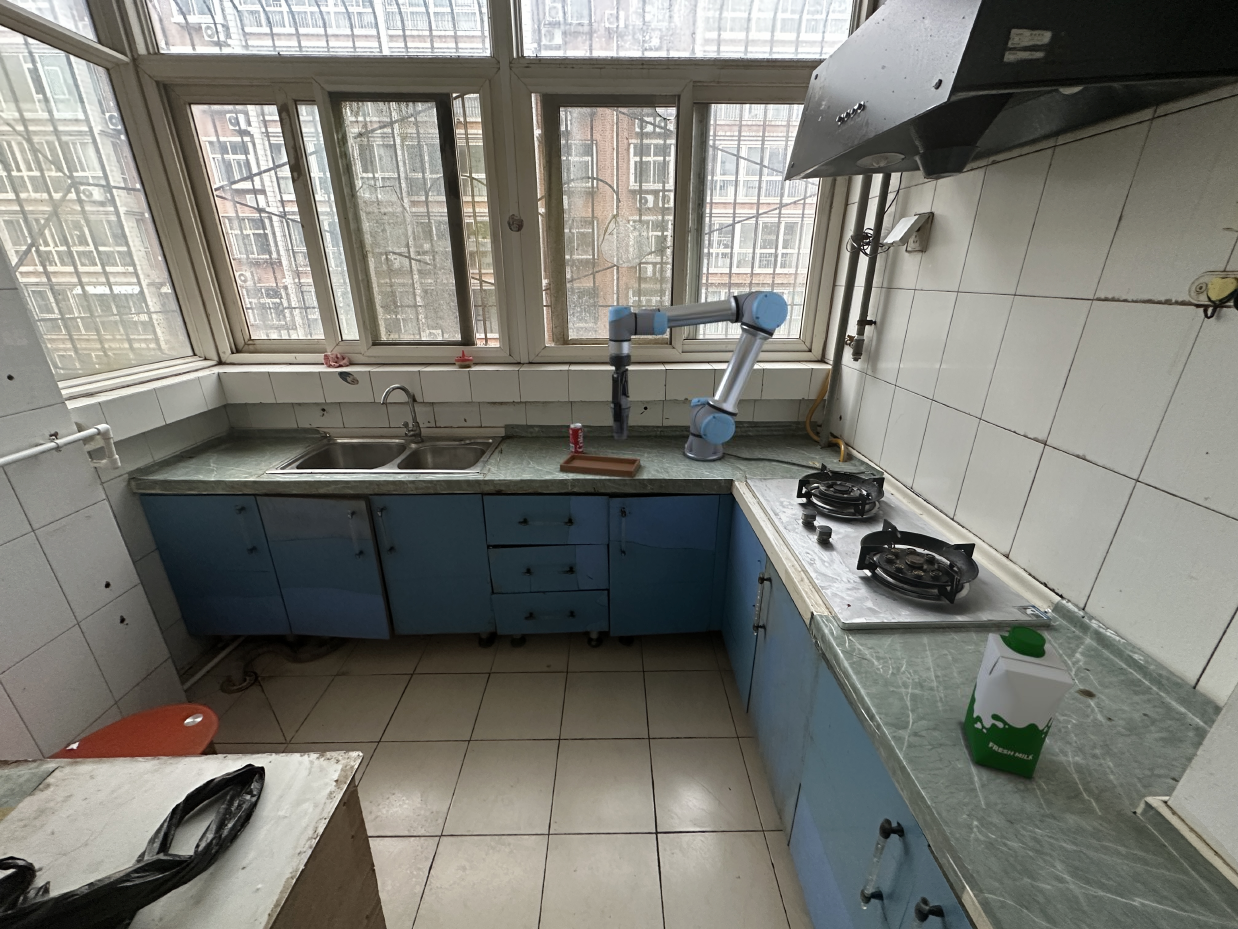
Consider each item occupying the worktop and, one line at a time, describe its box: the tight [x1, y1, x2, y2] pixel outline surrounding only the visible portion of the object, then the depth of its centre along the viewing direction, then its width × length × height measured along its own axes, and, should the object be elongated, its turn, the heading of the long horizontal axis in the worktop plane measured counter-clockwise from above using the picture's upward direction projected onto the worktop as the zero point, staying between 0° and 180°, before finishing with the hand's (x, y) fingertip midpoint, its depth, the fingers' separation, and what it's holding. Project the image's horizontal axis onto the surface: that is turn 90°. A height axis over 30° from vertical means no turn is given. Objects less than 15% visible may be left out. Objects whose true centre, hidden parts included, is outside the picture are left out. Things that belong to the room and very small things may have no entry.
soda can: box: [569, 423, 584, 454], centre depth 200 cm, size 5×5×12 cm
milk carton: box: [963, 625, 1075, 779], centre depth 72 cm, size 9×9×20 cm
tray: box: [559, 452, 641, 478], centre depth 186 cm, size 28×13×3 cm, turn 75°
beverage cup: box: [609, 395, 631, 441], centre depth 176 cm, size 7×7×20 cm
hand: (620, 418), depth 177 cm, fingers closed on beverage cup, 7 cm apart
